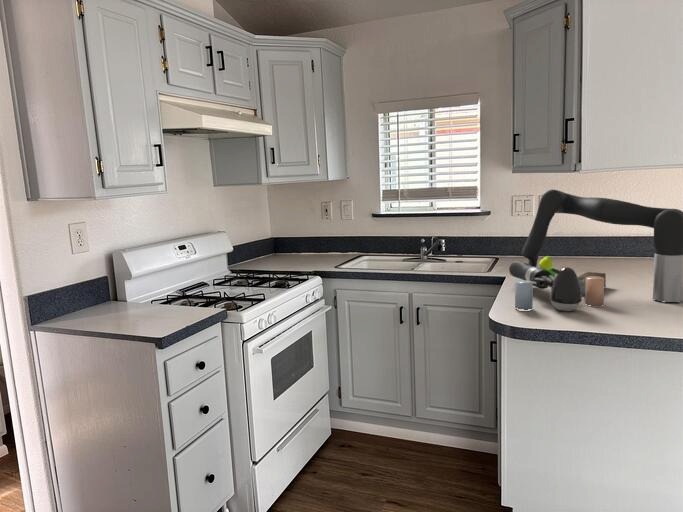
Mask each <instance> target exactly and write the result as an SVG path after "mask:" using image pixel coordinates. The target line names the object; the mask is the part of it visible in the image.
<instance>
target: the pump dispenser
mask: <svg viewBox="0 0 683 512" xmlns="http://www.w3.org/2000/svg"><path fill="white" fill-rule="evenodd" d="M551 268H552V269H551V270H552V271H553V272H555V273H556V275H555V279H554V282H553V284H552V287H550V293H549V299H550V302H551V304H552V306H553V307H554V308H555V309H556V310H559V311H561V310H562V311H561V312H572V311H574V310H576V309H577V308H578V307H579V305H580V303H581V302H582V295H581V288H580V283H579V280H578V277H579V276H578V275H577V273H576V271H575V270H574V269H573V268H571V267H566V266H565V267H562V268H561V269H560V270H559V269H558V268H555V267H551ZM554 268H555V269H554ZM557 269H558V270H557Z"/></svg>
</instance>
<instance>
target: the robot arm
mask: <svg viewBox="0 0 683 512" xmlns="http://www.w3.org/2000/svg"><path fill="white" fill-rule="evenodd" d="M555 214H568V215H576V216H581V217H584V218H586V219H590V220H593V221H597V222H601V223H607V224H611V225H618V226H619V225H620V226H642V227H647V228H651V229H653V248H654V254H653V255H654V258H653V282H652V283H653V285H652V300H653V299H655V300H658V301H665V302H681V301H682V302H683V210H680V209H678V208H666V207H665V208H664V207H651V206H645V205H641V204H638V203H632V202H630V201H629V202H628V201H624V200H619V199H613V198H607V197H583V196H577V195H575V194H570V193H566V192H564V191H561V190H558V189H552V188H551V189H548V190H546V191H545V192H543V193H542V195H541V197H540V200H539V203H538V207H537V212H536V216H535V218H534V222H533V223H532V227H531V230H530V232H529V235H528V236H527V239H526V241H525V243H524V245H523V247H522V250H521V256H523V257H524V258H526V259H527V260H528V263H526V262H524V261H520V260H514V261H512V262H511V264H510V265H509V268H508V269H509V273H510V274H509V275H510V276H512V277H515V278H516V279H520V280H526V281H532V282H533V287H535V288H538V289H540V290H545V289H547V288H552V284H553V282H554V279H555V277H556V276H555V277H553V276H552V274H551V273H550V272H549V271H547V270H545V269H542V268H539V266H538V267H537V265H538V260H539V257H540V255H541V253H542V250H543V248H544V245H545V243H546V241H547V235H548V229H549V227H550V223H551V221H552V219H553V217H554V216H555ZM655 300H654V301H655ZM658 301H657V302H658ZM665 302H664V303H665ZM682 302H681V303H682Z"/></svg>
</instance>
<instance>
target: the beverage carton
mask: <svg viewBox="0 0 683 512" xmlns="http://www.w3.org/2000/svg"><path fill="white" fill-rule="evenodd" d="M589 276H597V277H603V278H604V287H605V288H606V286H607V285H606V283H607V282H606V281H607V280H606V279H607V278H606V276H607V275H606V273H605V272H594V271H593V272H592V271H587V272H585V273H583V274H581V275H579V276H577V277H578V280H579V283H580V288H581V296H583V295H585V289H586V277H589Z"/></svg>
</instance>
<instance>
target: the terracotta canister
mask: <svg viewBox="0 0 683 512" xmlns="http://www.w3.org/2000/svg"><path fill="white" fill-rule="evenodd" d="M584 299H585V300H584V305H585V304H587V305H591V306H602V305H603V306H604V303H605V288H604V278H603V277H597V276H589V277H586V289H585V296H584ZM603 306H602V307H603Z"/></svg>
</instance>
